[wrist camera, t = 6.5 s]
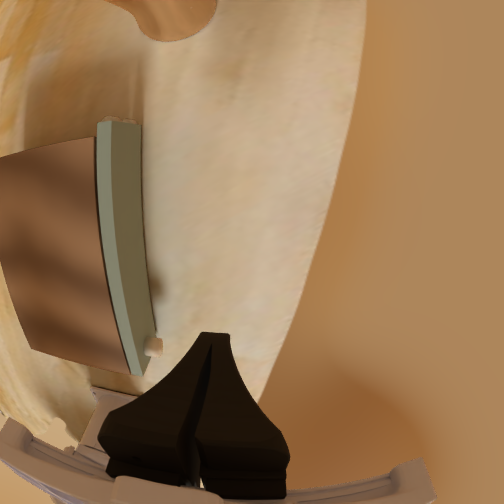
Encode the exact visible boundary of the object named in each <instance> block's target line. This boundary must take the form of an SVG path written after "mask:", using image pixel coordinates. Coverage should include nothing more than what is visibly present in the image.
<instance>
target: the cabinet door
mask: <svg viewBox="0 0 504 504" xmlns="http://www.w3.org/2000/svg"><path fill="white" fill-rule="evenodd" d="M97 185H98V202H99V214H100V225H101V234H102V242H103V250H104V257H105V263H106V269H107V275H108V281H109V286H110V291H111V296H112V301H113V306H114V310H115V315H116V319H117V323H118V327H119V331H120V335H121V339H122V343H123V346H124V350H125V353H126V357H127V360H128V363H129V367H130V370H131V373H132V375H137V376H144V373H145V371H146V368H147V366H148V363H149V361H150V358H151V356H153V357H161V355H162V351H163V341H162V339H161V338H156V332H155V326H154V320H153V314H152V308H151V301H150V294H149V286H148V278H147V269H146V260H145V249H144V237H143V223H142V204H141V125H139V124H137V122H136V121H135V120H130V119H123V120H122V121H121V119H120V118H118V117H113V116H106V117H104V118H103V120H102V122H99V123H97Z"/></svg>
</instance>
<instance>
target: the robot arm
mask: <svg viewBox="0 0 504 504" xmlns="http://www.w3.org/2000/svg"><path fill="white" fill-rule="evenodd" d="M90 390H91V392H92V394H93V396H94V398H95V400H96V402H97V406H96V408H95V410H94V412H93V414H92V417H91V419H90V421H89V423H88V425H87V427H86V430H85V432H84V434H83V436H82V439H81V441H80V443H79V444H78V447H77V449H76V451H75V450H74V449H75V448H74V447H73V446H70V447H65V449H64V451H63V450H61V449H58V448H56V447H54V446H52V445H50V444H48V443H45V442H44V441H42V440H40V439H38V438H36V437H34V436H33V434H32V433H31V432H30V431H29V430H28V429H27V428H26V427H25V426H24V425H22V424H20V423H19V422H17V421H15V420H13V419H12V418H8V420H7V421H6V423H5V425H4V426H3V428H2V430H1V431H0V460H1V461H2V462H3V463H5V464H6V465H7V466H8V467H9V468H10V469H11V470H12V471H14V472H15V473H16V474H17V475H19V476H20V477H22V478H23V479H25V480H26V481H28V482H30V483H31V484H33V485H35V486H36V487H38V488H39V489H41V490H43V491H44V492H46V493H48V494H50V497H51V499H52V501H53V502H54V503H55V504H430V503H432V502H433V501H435V500H436V499H437V495H436V493H435V490H434V487H433V484H432V482H431V479H430V476H429V474H428V471H427V469H426V466H425V463H424V461H423V458H417V459H414V460H411V461H408V462H405V463H402V464H399V465H397V466H396V467H394V468H393V469H392V470H391V471H390V473H387V474H383V475H380V476H376V477H372V478H367V479H363V480H359V481H354V482H349V483H343V484H337V485H331V486H324V487H316V488H307V489H297V490H286V480H285V479H286V468H287V466H288V463H289V461H290V453H289V449H288V446H287V444H286V441H285V439H284V437H283V435H282V433H281V431H280V430H279V429H278V428H277V427H276V426H275V425H274V424H273V423H272V422H271V421H270V420H269V419H268V418H267V416H266V415H265V414H264V413H263V412H262V410H261V409H260V408H259V406H258V405H257V403H256V402H255V401H254V399H253V398H252V396H251V395H250V393H249V391H248V390H247V388H246V386H245V384H244V382H243V380H242V378H241V376H240V374H239V371H238V369H237V366H236V363H235V361H234V357H233V354H232V350H231V345H230V335H229V334H228V333H212V332H201V333H200V335H199V336H198V338H197V339H196V341H195V342H194V344H193V345H192V347H191V348H190V349H189V351H188V352H187V353H186V355H185V356H184V357H183V358H182V360H181V361H180V362H179V363H178V364H177V365H176V366H175V367H174V368H173V370H172V371H171V372H170V373H169V374H168V375H166V376H165V377H164V378H163V379H162V380H161V381H160V382H159V383H157V384H156V385H155V386H154V387H152V388H151V389H150V390H148V391H147V392H146V393H144V394H142V395H141V396H139V397H137V396H132V395H127V394H123V393H118V392H114V391H110V390H105V389H102V388H98V387H94V386H91V387H90ZM200 480H202V483H203V486H204V488H200Z"/></svg>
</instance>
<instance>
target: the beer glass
mask: <svg viewBox="0 0 504 504" xmlns="http://www.w3.org/2000/svg"><path fill="white" fill-rule="evenodd" d="M104 1H107V2H109V3H111V4H114V5H116V6H118V7H120V8H122V9H124V10H126V11H128V12H130V13H131V14H132V15H133V16H134V18H135V19H136V22H137V24H138V26H139V28H140V30H141V31H142V32H143V33H144V34H145V35H146V36H147V37H149V38H151V39H153V40H156V41H162V42H171V41H177V40H181V39H184V38H187V37H189V36H192V35H194V34H195V33H197V32H199V31H200V30H201V29H203V28H204V27H205V26H206V25H207V24H208V23H209V21H210V20H211V19H212V17H213V15H214V13H215V9H216V0H104Z"/></svg>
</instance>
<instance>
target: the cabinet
mask: <svg viewBox="0 0 504 504" xmlns="http://www.w3.org/2000/svg"><path fill="white" fill-rule="evenodd" d="M0 262H1V266H2V270H3V273H4V277H5V280H6V284H7V287H8V290H9V293H10V297H11V300H12V302H13V305H14V308H15V311H16V314H17V316H18V319H19V322H20V324H21V327H22V329H23V331H24V334H25V336H26V338H27V341H28V343H29V345H30V347H31V349H34V350H37V351H40V352H43V353H46V354H49V355H52V356H55V357H59V358H62V359H65V360H69V361H72V362H76V363H80V364H84V365H88V366H92V367H96V368H100V369H104V370H109V371H113V372H118V373H123V374H128V375H131V370H130V367H129V363H128V360H127V357H126V353H125V350H124V346H123V343H122V339H121V335H120V331H119V327H118V323H117V319H116V315H115V310H114V306H113V301H112V296H111V291H110V286H109V281H108V275H107V269H106V263H105V257H104V250H103V242H102V234H101V225H100V214H99V202H98V185H97V137H88V138H82V139H76V140H71V141H66V142H60V143H56V144H51V145H46V146H42V147H38V148H33V149H29V150H26V151H22V152H18V153H14V154H11V155H7V156H4V157H1V158H0Z"/></svg>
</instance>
